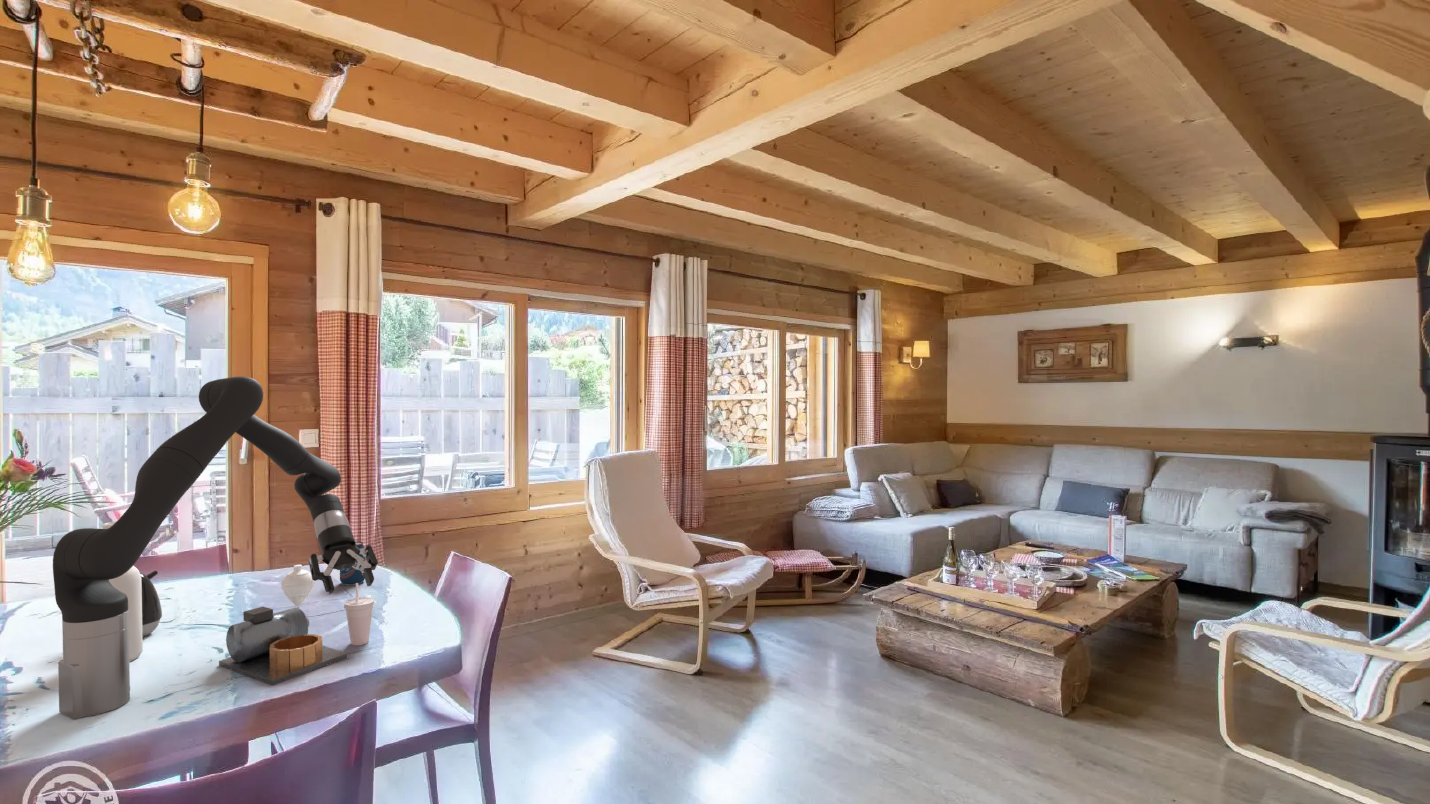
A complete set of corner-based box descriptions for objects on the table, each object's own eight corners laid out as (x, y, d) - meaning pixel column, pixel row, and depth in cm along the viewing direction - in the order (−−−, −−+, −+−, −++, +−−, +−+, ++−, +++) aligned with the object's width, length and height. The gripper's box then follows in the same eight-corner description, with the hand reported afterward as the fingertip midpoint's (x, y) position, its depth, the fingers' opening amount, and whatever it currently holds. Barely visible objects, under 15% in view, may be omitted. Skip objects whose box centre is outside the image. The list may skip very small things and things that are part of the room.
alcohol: (100, 670, 146) (97, 528, 145) (82, 662, 150) (79, 524, 150) (150, 656, 154) (148, 521, 153) (131, 649, 158) (129, 517, 157)
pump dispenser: (173, 630, 170) (172, 568, 170) (127, 645, 160) (126, 580, 160) (142, 626, 173) (141, 565, 173) (95, 641, 163) (94, 576, 163)
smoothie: (338, 644, 161) (337, 584, 161) (363, 635, 167) (362, 577, 166) (356, 649, 158) (355, 588, 158) (381, 640, 164) (380, 581, 163)
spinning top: (274, 613, 183) (273, 567, 183) (298, 604, 190) (297, 560, 190) (298, 615, 181) (297, 569, 181) (321, 606, 189) (321, 562, 188)
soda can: (335, 585, 208) (334, 546, 208) (348, 579, 215) (347, 540, 215) (357, 586, 208) (357, 546, 207) (370, 579, 215) (369, 541, 214)
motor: (272, 684, 139) (272, 631, 139) (218, 665, 149) (218, 615, 149) (349, 656, 154) (349, 608, 154) (296, 640, 163) (295, 595, 163)
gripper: (305, 528, 166) (322, 585, 158) (368, 519, 176) (386, 573, 169) (298, 546, 170) (315, 603, 162) (360, 537, 180) (378, 590, 173)
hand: (351, 587), depth 166 cm, fingers open, 8 cm apart
